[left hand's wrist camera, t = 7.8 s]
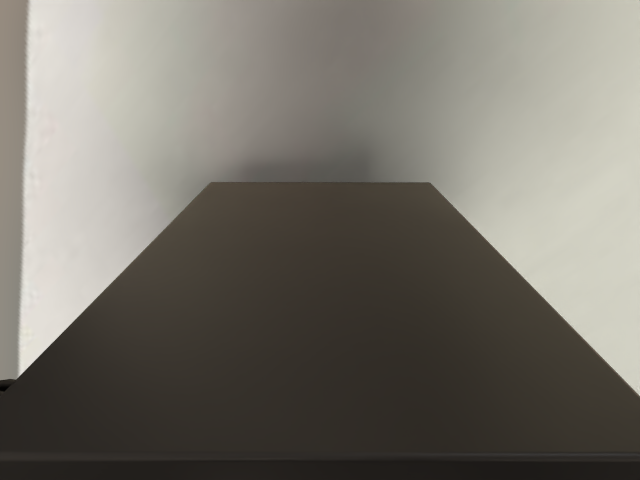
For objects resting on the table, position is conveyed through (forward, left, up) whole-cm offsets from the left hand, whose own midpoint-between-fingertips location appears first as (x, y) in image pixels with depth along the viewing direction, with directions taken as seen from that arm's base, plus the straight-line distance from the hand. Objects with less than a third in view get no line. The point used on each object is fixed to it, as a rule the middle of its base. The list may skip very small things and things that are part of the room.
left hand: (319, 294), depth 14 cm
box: (+10, +3, -3) cm, 11 cm away
